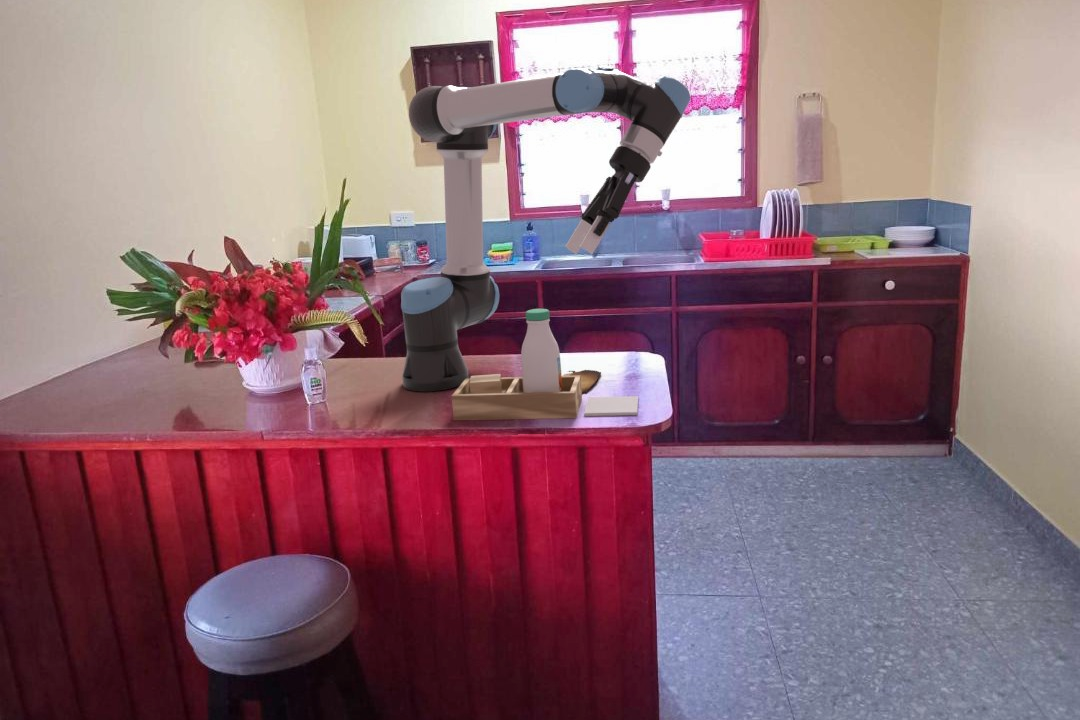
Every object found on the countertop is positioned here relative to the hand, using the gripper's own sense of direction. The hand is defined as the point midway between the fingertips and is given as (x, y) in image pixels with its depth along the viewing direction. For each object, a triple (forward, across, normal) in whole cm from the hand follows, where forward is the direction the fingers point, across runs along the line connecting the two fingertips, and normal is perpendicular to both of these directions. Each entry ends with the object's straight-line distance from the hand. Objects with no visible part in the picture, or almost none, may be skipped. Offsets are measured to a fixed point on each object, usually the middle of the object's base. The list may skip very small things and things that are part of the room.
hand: (577, 250), depth 151 cm
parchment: (+24, +15, -17) cm, 33 cm away
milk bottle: (+30, +2, -11) cm, 32 cm away
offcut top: (+33, +6, 0) cm, 34 cm away
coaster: (+22, -2, -22) cm, 31 cm away
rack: (+32, +4, -7) cm, 34 cm away
